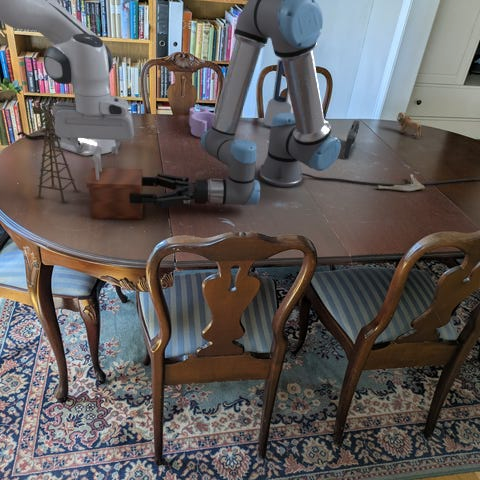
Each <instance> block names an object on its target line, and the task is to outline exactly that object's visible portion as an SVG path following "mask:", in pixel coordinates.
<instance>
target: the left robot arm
mask: <svg viewBox="0 0 480 480" xmlns="http://www.w3.org/2000/svg"><path fill="white" fill-rule="evenodd" d="M0 22H2V23H3V24H5V25H6V26H8V27H10V28H13V29H16V30H17V29H18V30H27V31H28V30H29V31H37V32H38V33H39V34H41V35H42V36H43V37H44V38H45V39H46V40H48V41H49V42H50V43H52V44H53V45H49V46H48V47H47V48H46V50H45V51H44V54H43V66H44V67H43V68H44V70H45V71H44V72H45V73H46V75H47V76H48V77H49V79H51V80H52V81H53V82H54V83H56V84H61V85H72V86H73V93H74V101H62V100H61V101H58V100H57V101H56V103H55V102H54V103H55V104H53V106H51V113H52V115H54V117H55V126H54V128H55V134H56V135H57V138H59V139H58V140H59V143H60V146H61V148H62V150H65V151H69V152H72V153H74V154H78V155H80V156H84V157H85V156H86V157H87V156H93V155H94V152H95V149H96V147H101V148H102V153H101V155H105V154H108V153H111V155H113V156H117V155H118V154H119V147H120V146H121V145H122V141H132V140H133V139H134V137H135V126H134V125H135V124H134V119H133V115H132V113H131V112H130V111H129V101H128V100H127V99H124V98H121V97H118V96H115V95H113V94H111V89H110V74H111V71H112V68H113V65H114V58H113V54H112V52H111V50H110V48H109V47H108V46H107V44H106V43H105V42H104V40H103V39H101V37H99V36H98V35H97V34H96V33H95V32H93V31H92V29H90V28H89V27H88V26H87V25H85V24H84V23H83V22H81V21H80V20H79V19H78V18H77V17H75V16H74V15H72V13H71V12H69V10H67V9H66V8H65V7H64V6H63V5H61V3H59V2H58V1H57V0H0ZM21 135H22V136H24V137H26V139H27V138H28V139H31V140H33V139H34V140H35V139H40V138H45V134H39V135H29V134H27V133H26V132H24V131H19V132H18V133H17V134H16V136H21ZM48 136H49V135H47V137H48ZM52 137H55V135H54V134H52ZM52 139H53V138H52ZM47 140H49V138H47ZM53 140H54V139H53ZM54 147H57V148H59V146H58V143H57V141H55V142H54Z"/></svg>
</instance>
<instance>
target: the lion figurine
mask: <svg viewBox="0 0 480 480" xmlns="http://www.w3.org/2000/svg"><path fill="white" fill-rule="evenodd" d="M396 121H397V122H398V123H399V126H401V130H400V131H399V132H400V133H401V134H403V133H404V132H406V129H410V130H411V129H413V131H414V133H413V136H414V138H415V139H418V138H419V136H420V137H421V136H422V137H421V138H422V139H423V138H424V136H423V135H422V125H421V123H420V122H419V121H414V120H412V119H411V117H410V116H409V115H408V114H407V113H406V112H403V111H402V112H398V114H397V117H396ZM416 136H418V137H416Z"/></svg>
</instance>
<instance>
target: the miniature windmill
mask: <svg viewBox="0 0 480 480" xmlns="http://www.w3.org/2000/svg"><path fill="white" fill-rule="evenodd" d="M55 98H56V97H55V96H53V95H51V96H50V95H48V98H47V97H45V101H43V104H44V105H41V106H42V107H38V106H35V105H31V107H32V114H33V115H41V119H42V121H41V122H42V124H43V126H44V128H43V129H41V130H39V133H43V134H44V135H45V137H44V138H42V140H43V146H42V148H43V150H42V154H41V157H42V158H41V162H40V164H41V166H40V175H39V177H38V179H39V184H38V185H37V187H38V196H37V197H38V198H41V197H42V188H44V189H49V190H55V191H59V193H60V198H61V202H62V203H63V202H65V197H64V192H63V191H64V190H65V189H66V188H67V187H68V186H70V185H72V187H73V190H74V191H75V192H77V191H78V189H77V186H76V183H75V181H76V180H75V179H74V178H73V176H72V175H73V174H72V173H71V169H70V167H69V166H70V164H69V163H68V161H67V159H66V156H65V154H64V150H63V149H62V148H61V146H60V143H59V140H58V139H59V138H57V135H56V134H55V117H54V115H53V114H52V106H53V105H54V104H55V103H57V102H58V99H57V98H56V99H55ZM52 134H54V136H53V137H52ZM47 136H48V137H47ZM47 138H49V139H47ZM52 138H53V139H52ZM56 141H57V143H58V146H59V147H58V149H56V148H55V142H56ZM47 146H49V150H46V149H47ZM56 152H58V154H56ZM59 156H61V157H62V159H63V162H58V160H57V158H58V157H59ZM46 157H47V158H46ZM53 159H54V161H53ZM48 160H50V161H49V162H50V163H48V164H47V165H45V162H47V161H48ZM54 164H55V170H54ZM59 165H60V166H61V165H62V166H64V167H62V168H61V169H60V170H59ZM49 166H50V169H46V168H48V167H49ZM64 170H67V172H68V176H69V178H68V177H63V176H60V173H61V172H62V171H64ZM48 173H50V176H49V177H47V178H46V179H45V180H44V181H43V177H44V176H46V175H47V174H48ZM54 173H55V174H56V175H54ZM55 178H56V179H57V181H58V182H57V183H58V187H59V188H57V187H55ZM50 179H51V186H46V185H45V186H44V184H45V183H46V182H47V181H48V180H49V181H50ZM61 179H62V180H67V181H70V182H69V183H67V184H66V185H65V186H63V185H62V182H61ZM62 186H63V187H62Z"/></svg>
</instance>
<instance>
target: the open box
mask: <svg viewBox="0 0 480 480" xmlns="http://www.w3.org/2000/svg"><path fill="white" fill-rule="evenodd" d="M143 173H144V172H143ZM143 173H142V182H141V189H134V188H94V187H88V195H89V206H90V215H91V219H117V220H119V219H122V220H124V219H126V220H142V218H143V217H142V216H143V209H144V204H143V203H130V194H144V186H143V177H144V175H143Z"/></svg>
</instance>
